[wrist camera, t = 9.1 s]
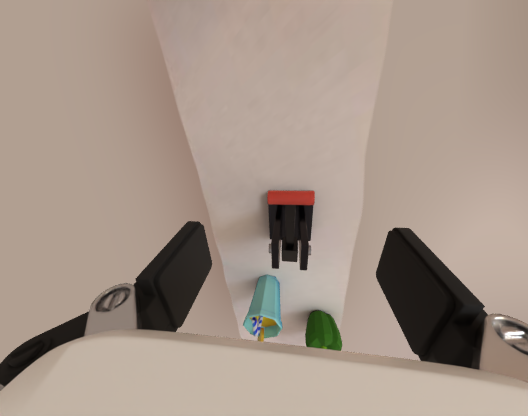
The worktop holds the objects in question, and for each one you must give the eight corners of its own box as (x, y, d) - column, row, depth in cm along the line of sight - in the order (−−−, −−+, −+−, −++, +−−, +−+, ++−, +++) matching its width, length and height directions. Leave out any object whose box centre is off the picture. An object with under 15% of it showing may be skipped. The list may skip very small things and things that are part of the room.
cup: (248, 257, 43) (229, 323, 30) (282, 257, 42) (278, 326, 29) (255, 298, 50) (242, 367, 36) (285, 300, 48) (283, 372, 35)
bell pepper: (328, 302, 47) (337, 348, 38) (341, 322, 50) (352, 368, 41) (297, 310, 50) (298, 354, 41) (311, 328, 52) (315, 373, 44)
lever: (268, 185, 22) (266, 199, 20) (313, 185, 21) (315, 199, 19) (273, 247, 30) (272, 260, 29) (306, 248, 30) (306, 262, 28)
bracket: (268, 191, 35) (258, 226, 25) (313, 191, 34) (322, 228, 24) (270, 235, 40) (262, 281, 29) (309, 237, 39) (316, 285, 28)
